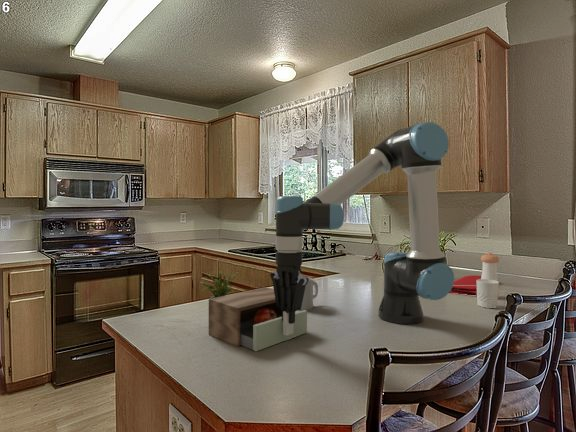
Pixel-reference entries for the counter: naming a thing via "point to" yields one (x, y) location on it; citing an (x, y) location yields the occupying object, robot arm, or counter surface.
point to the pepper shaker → (489, 267)
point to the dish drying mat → (466, 285)
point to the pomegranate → (264, 315)
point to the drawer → (270, 331)
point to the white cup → (487, 293)
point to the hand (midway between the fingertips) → (288, 333)
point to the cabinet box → (238, 312)
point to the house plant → (219, 285)
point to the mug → (309, 294)
